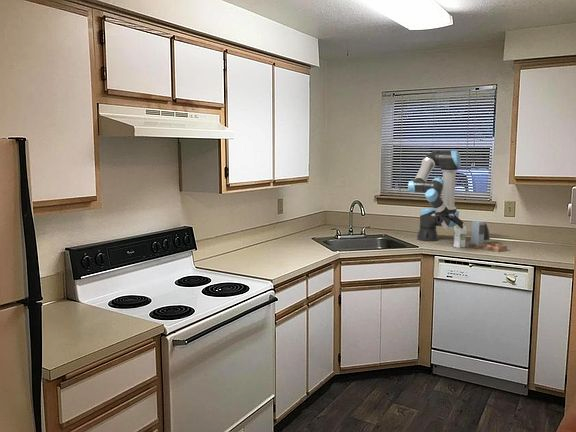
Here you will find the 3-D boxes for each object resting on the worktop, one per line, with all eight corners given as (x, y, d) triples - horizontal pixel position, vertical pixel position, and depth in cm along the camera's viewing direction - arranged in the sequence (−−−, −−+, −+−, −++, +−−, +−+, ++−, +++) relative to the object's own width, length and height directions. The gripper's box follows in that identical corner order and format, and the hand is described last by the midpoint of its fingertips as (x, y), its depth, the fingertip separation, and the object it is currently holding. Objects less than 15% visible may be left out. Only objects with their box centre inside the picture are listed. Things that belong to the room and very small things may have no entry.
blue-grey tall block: (470, 243, 348) (471, 221, 346) (476, 242, 351) (477, 220, 349) (479, 244, 342) (480, 222, 340) (484, 243, 345) (485, 222, 343)
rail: (468, 246, 347) (468, 241, 347) (476, 244, 352) (476, 240, 352) (498, 252, 328) (498, 247, 328) (507, 250, 333) (507, 245, 333)
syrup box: (459, 246, 348) (460, 225, 347) (465, 247, 343) (466, 226, 341) (453, 246, 346) (453, 225, 344) (459, 248, 341) (460, 226, 339)
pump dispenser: (486, 242, 362) (488, 221, 360) (491, 245, 352) (492, 223, 350) (472, 242, 363) (473, 220, 361) (475, 244, 353) (477, 223, 351)
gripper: (422, 210, 338) (437, 231, 348) (453, 214, 317) (467, 236, 327) (428, 202, 340) (442, 223, 350) (459, 205, 320) (473, 227, 330)
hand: (454, 229), depth 339 cm, fingers open, 13 cm apart
